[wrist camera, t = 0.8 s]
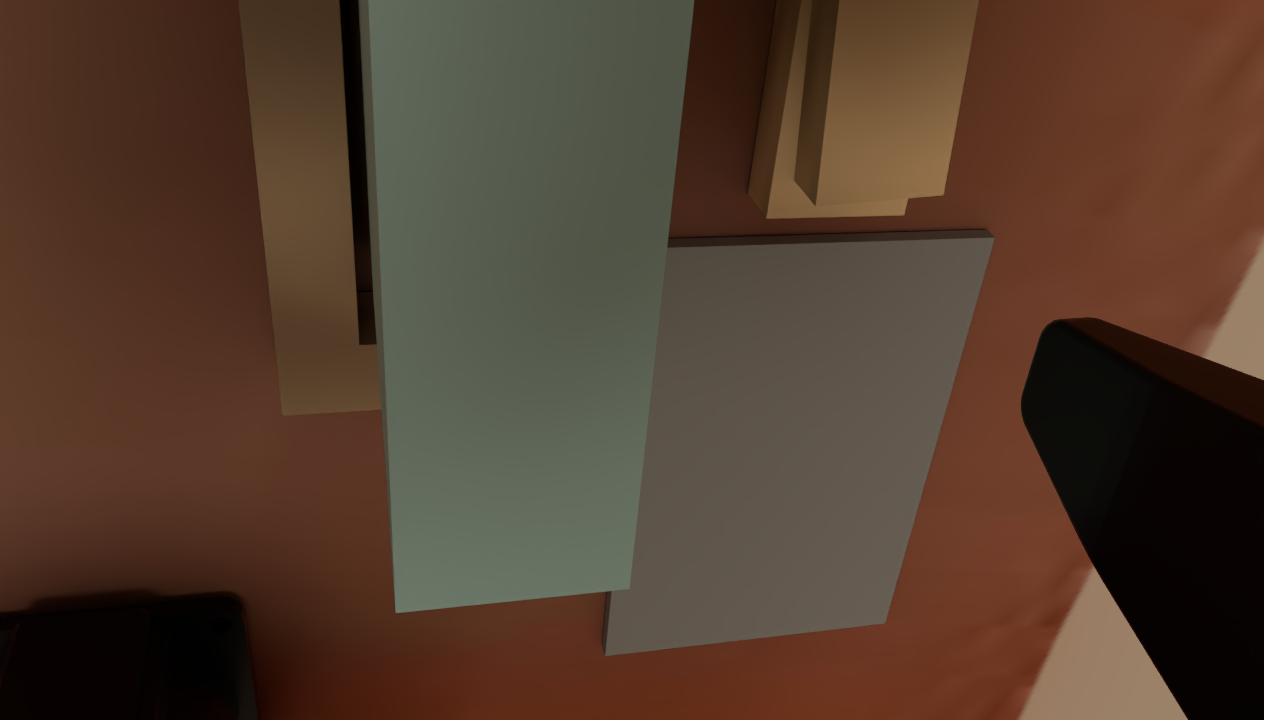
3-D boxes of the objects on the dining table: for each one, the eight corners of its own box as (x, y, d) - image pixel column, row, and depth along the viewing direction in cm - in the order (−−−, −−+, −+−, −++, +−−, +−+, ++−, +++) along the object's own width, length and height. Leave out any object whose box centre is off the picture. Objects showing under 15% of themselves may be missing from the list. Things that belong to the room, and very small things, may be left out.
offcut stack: (882, 190, 24) (931, 241, 22) (745, 193, 23) (784, 246, 21) (974, -229, 20) (1046, -212, 18) (810, -241, 19) (865, -224, 17)
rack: (600, 343, 24) (619, 394, 23) (285, 359, 23) (282, 415, 21) (668, -525, 16) (705, -540, 15) (189, -589, 15) (172, -614, 13)
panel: (520, 241, 23) (628, 588, 15) (369, 245, 22) (395, 613, 14) (539, -336, 17) (726, -292, 9) (339, -354, 17) (353, -323, 9)
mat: (879, 613, 32) (885, 623, 31) (602, 644, 30) (605, 656, 29) (986, 229, 25) (995, 237, 25) (641, 239, 23) (645, 248, 23)
